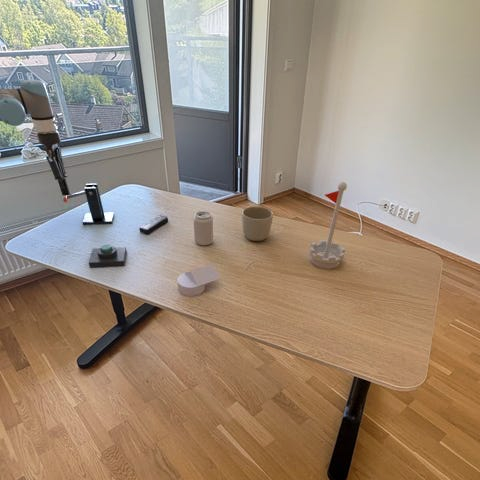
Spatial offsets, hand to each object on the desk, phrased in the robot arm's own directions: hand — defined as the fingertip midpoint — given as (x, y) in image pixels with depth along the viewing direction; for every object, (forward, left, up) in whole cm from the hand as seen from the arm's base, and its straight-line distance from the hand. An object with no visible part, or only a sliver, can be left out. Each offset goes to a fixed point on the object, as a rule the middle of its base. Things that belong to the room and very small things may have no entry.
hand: (66, 194), depth 142 cm
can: (+54, -24, -12) cm, 61 cm away
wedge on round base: (+49, -54, -12) cm, 74 cm away
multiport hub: (+34, -9, -12) cm, 37 cm away
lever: (+6, 0, -1) cm, 6 cm away
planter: (+76, -22, -12) cm, 80 cm away
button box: (+18, -34, -11) cm, 40 cm away
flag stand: (+99, -43, -12) cm, 109 cm away
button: (+18, -34, -8) cm, 40 cm away
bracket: (+10, 0, -11) cm, 16 cm away
